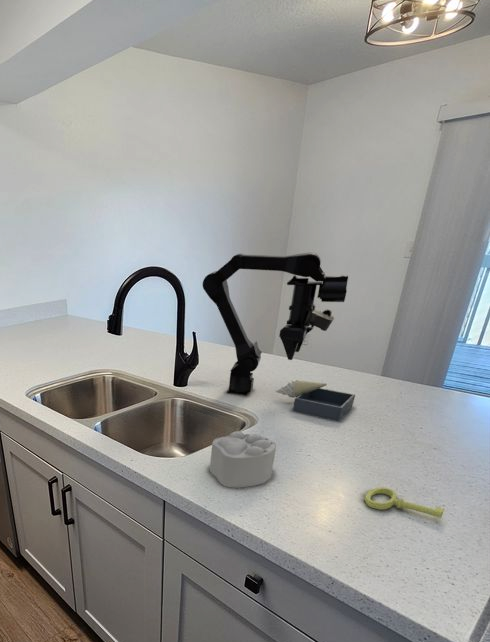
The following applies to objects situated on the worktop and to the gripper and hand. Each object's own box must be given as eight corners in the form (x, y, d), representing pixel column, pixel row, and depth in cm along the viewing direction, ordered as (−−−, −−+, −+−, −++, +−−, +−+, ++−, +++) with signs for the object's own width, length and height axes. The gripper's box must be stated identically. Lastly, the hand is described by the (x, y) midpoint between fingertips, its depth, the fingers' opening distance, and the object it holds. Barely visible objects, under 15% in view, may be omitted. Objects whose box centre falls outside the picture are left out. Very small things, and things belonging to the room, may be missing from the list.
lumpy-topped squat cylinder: (205, 466, 101) (208, 432, 97) (256, 458, 102) (261, 425, 98) (226, 490, 91) (230, 453, 87) (282, 481, 93) (289, 445, 89)
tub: (292, 411, 125) (294, 398, 123) (308, 398, 133) (310, 386, 131) (338, 421, 118) (341, 407, 116) (352, 407, 125) (355, 394, 123)
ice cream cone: (331, 382, 125) (279, 389, 136) (324, 372, 122) (272, 380, 134) (328, 396, 123) (276, 403, 135) (322, 386, 120) (269, 394, 132)
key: (443, 524, 78) (447, 514, 77) (363, 507, 84) (366, 497, 83) (438, 503, 83) (442, 494, 82) (364, 488, 89) (366, 479, 88)
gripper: (329, 309, 111) (317, 367, 118) (339, 297, 125) (328, 350, 132) (283, 306, 117) (274, 362, 124) (297, 295, 131) (289, 347, 138)
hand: (293, 355), depth 129 cm, fingers open, 9 cm apart
